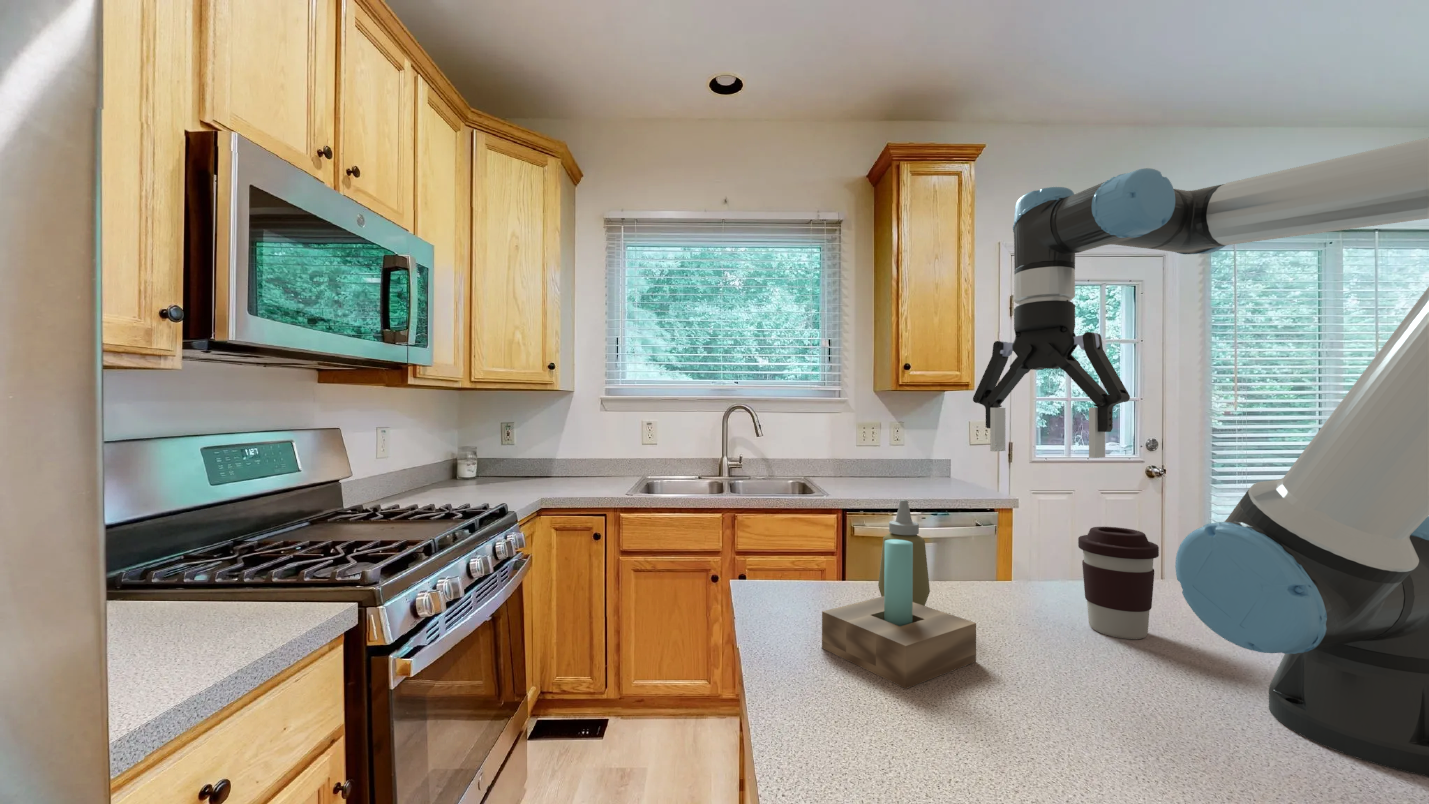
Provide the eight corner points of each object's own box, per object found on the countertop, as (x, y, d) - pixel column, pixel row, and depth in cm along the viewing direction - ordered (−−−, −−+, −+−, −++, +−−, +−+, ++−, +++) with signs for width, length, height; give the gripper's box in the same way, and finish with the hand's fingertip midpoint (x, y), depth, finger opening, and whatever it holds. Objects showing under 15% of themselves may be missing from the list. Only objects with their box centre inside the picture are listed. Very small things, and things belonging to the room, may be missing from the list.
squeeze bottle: (937, 620, 92) (937, 504, 92) (885, 619, 92) (885, 504, 92) (920, 603, 100) (920, 497, 100) (872, 602, 100) (872, 496, 100)
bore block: (976, 661, 76) (976, 623, 76) (905, 688, 69) (905, 645, 69) (890, 628, 88) (890, 594, 88) (821, 648, 80) (822, 611, 81)
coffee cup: (1132, 620, 92) (1132, 525, 92) (1175, 645, 82) (1175, 538, 82) (1066, 618, 93) (1065, 523, 93) (1100, 642, 83) (1100, 536, 83)
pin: (918, 649, 78) (918, 543, 78) (900, 655, 76) (900, 546, 76) (896, 640, 81) (896, 538, 81) (878, 645, 79) (878, 541, 79)
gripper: (1159, 291, 74) (1160, 459, 74) (977, 317, 95) (977, 448, 95) (1133, 284, 70) (1134, 461, 70) (949, 312, 91) (949, 449, 91)
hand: (1044, 454), depth 82 cm, fingers open, 13 cm apart
